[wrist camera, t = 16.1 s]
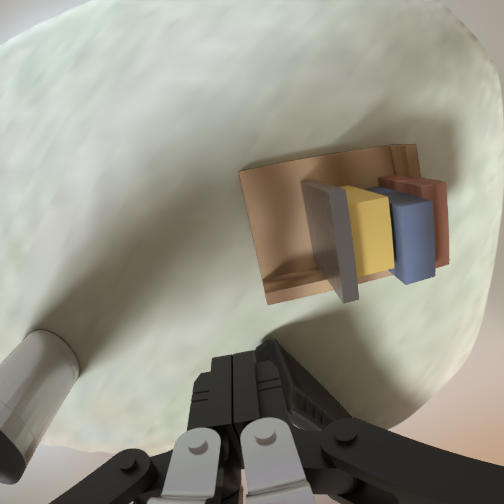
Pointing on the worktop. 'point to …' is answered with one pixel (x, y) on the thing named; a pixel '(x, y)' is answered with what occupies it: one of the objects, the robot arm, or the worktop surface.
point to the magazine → (301, 390)
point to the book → (370, 230)
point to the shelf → (340, 174)
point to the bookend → (331, 236)
